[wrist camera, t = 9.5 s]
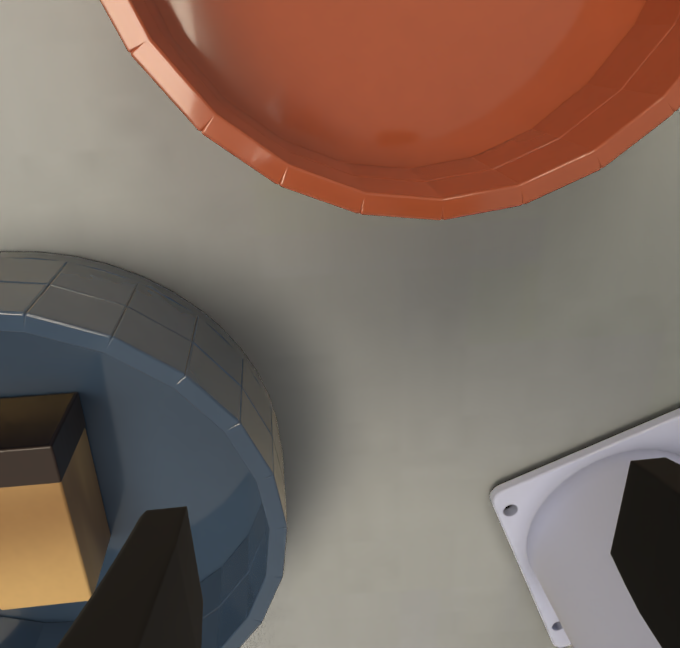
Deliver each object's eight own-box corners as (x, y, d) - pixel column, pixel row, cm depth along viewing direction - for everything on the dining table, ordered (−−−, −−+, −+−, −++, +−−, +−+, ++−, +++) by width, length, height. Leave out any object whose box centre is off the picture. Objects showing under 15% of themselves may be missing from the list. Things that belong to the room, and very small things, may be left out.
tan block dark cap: (112, 535, 20) (93, 601, 18) (29, 543, 20) (-2, 612, 18) (78, 391, 18) (51, 446, 15) (-17, 398, 18) (-59, 455, 15)
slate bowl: (347, 521, 22) (364, 616, 18) (9, 666, 23) (-37, 783, 19) (133, 163, 16) (97, 200, 12) (-314, 382, 17) (-468, 475, 13)
